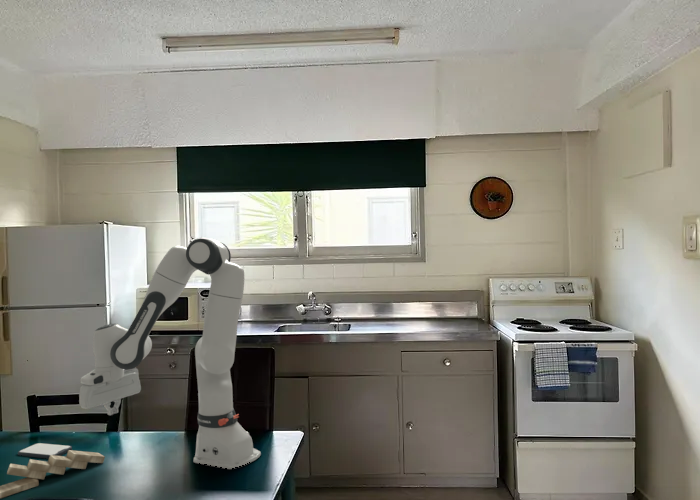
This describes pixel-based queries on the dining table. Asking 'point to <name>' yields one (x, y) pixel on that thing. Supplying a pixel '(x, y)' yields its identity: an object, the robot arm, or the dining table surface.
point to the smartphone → (44, 450)
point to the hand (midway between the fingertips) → (113, 413)
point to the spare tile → (18, 486)
